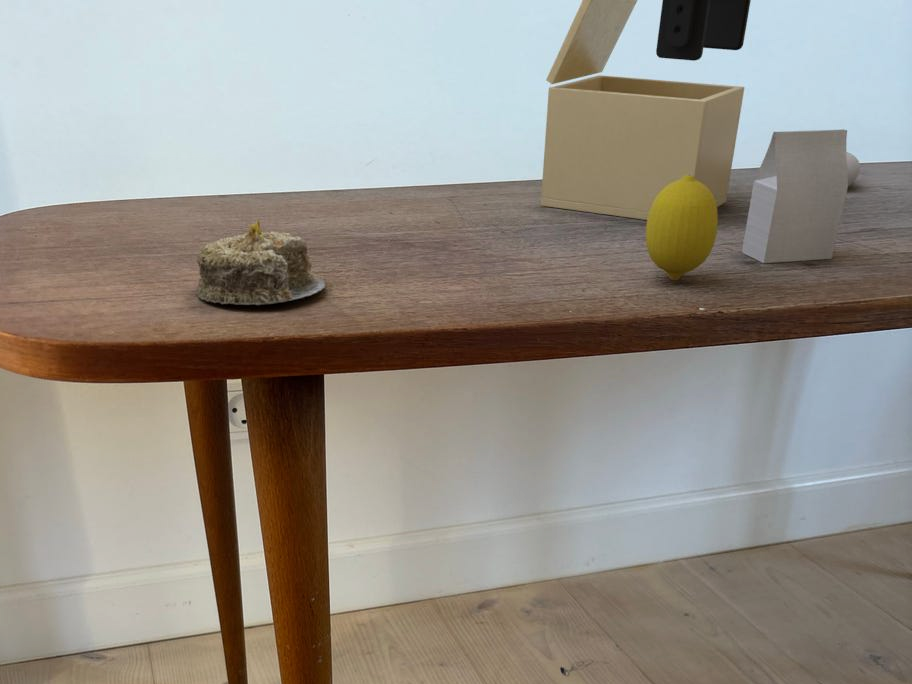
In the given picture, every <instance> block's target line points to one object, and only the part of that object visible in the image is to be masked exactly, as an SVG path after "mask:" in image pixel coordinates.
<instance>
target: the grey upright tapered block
mask: <svg viewBox="0 0 912 684" xmlns="http://www.w3.org/2000/svg"><path fill="white" fill-rule="evenodd" d="M847 138H848V129H842V128H841V129H819V130H818V129H816V130H815V129H814V130H788V131H787V130H786V131H773V133H772V136H771V139H770V142H769V144H768V148H767V150H766V153H765V155H764V158H763V159H762V162H761V164H760V167H759V168H758V171H757V174H756V176H755V178H754V181H753V185H752V191H751V197H750V204H749V208H748V215H747V220H746V226H745V232H744V237H743V241H742V242H743V243H742V249H741V253H742V254H743V255H746V256H748V257H749V258H752V259H754V260H756V261H758V262H759V263H761V264H773V263H789V262H790V263H791V262H804V261H819V260H832V259H833V255H834V252H835V247H836V243H837V237H838V233H839V229H840V224H841V220H842V215H843V210H844V205H845V202H846V201H845V200H846V197H847V192H848V189H849V186H848V178H847V157H846V152H847Z"/></svg>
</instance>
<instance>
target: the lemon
mask: <svg viewBox="0 0 912 684" xmlns="http://www.w3.org/2000/svg"><path fill="white" fill-rule="evenodd" d="M718 214H719V213H718V207H717V205H716V201H715V198H714V196H713V194H712V193H711V191H710V190H709V189H708V188H707V187H706V186H705V185H704V184H702V183H701V182H699V181H697V180H696V179H695V178H694V176H693V175H685V176H684V177H683V178H682V179H680V180H677V181H675V182H672V183H671V184H669V185H668V186H666V187H665V188H664V189H663V190H662V191H661V192H660V193H659V194H658V195H657V197H656V198H655V200H654V202H653V205H652V207H651V210H650V213H649V216H648V220H646V225H645V244H646V245H645V246H646V249H647V252H648V253H647V254H648V256H649V257H650V259H651V261H652V262H653V263H654V265H655V266H657V267H658V268H659V269H661V270H662V271H664V272H665V273H666V275H667V277H669V279H670V280H673V281H678V280H679V279H681V278H682V277H683V276H684V275H685V274H687V273H688V272H689V273H690V272H691V271H693V270H695V269H697V268H698V267H700V266H702V265H703V264H704V262H705V261H706V260H707V259H708V257H709V256H710V254H711V252H712V250H713V248H714V245H715V242H716V239H717V232H718V223H719V216H718Z"/></svg>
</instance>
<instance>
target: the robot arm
mask: <svg viewBox="0 0 912 684" xmlns="http://www.w3.org/2000/svg"><path fill="white" fill-rule="evenodd" d="M751 2H752V1H751V0H662V2H661V11H660V19H659V26H658V33H657V43H656V49H655V51H656V56H657V57H658V58H659V59H667V60H668V59H669V60H681V61H682V60H683V61H692V62H695V61H698V60H700V59H702V57H703V52H704V49H715V50H728V51H738V50H741V49H742V48H743V47H744V42H745V37H746V31H747V26H748V25H747V24H748V19H749V13H750V6H751Z"/></svg>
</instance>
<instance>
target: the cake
mask: <svg viewBox="0 0 912 684" xmlns="http://www.w3.org/2000/svg"><path fill="white" fill-rule="evenodd" d="M248 229H249V230H248V232H247V233H243V234H239V235H234V236H233V237H230V236H227V237H224V238H223V239H222V238H220V239H217V240H215V241H213V242H210V243H207V244H206V245H204V246H203V247H202V248H201V250H200V251H199V252H198V253H197V256H196V257H197V258H196V262H197V265H198V267H199V272H198V274H199V275H200V277H199V278H198V284H197V288H196V290H195V295H196V296H197V298H199V299H201V300H204V301H205V302H206V303H207V302H210V303H214V304H216V303H217V304H218V303H219V304H220V305H228V304H229V305H237V306H239V305H241V306H252V305H254V306H261V305H263V306H264V305H274V304H279V303H286V302H291V301H295V300H299V299H304V298H305V297H306V298H307V297H310V296H312V295H315V294H318V292H321V291H322V290H323V289H325V286H326V283H325V281H324V280H323V279H321V278H318V277H317V276H316V274H315V273H314V271H312V266H313V265H314V263H313V262H312V261H311V260H310V255H309V251H308V250H309V249H308V245H307V241H306V240H304V239H302V237H300V236H298V235H295V236H292V234H291V233H290V232H282V233H280V232H279V231H273V230H272V231H270V232H263V230H261V223H260V221H259V220H255V222H254V223H253V224H251V225H250V227H248Z"/></svg>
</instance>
